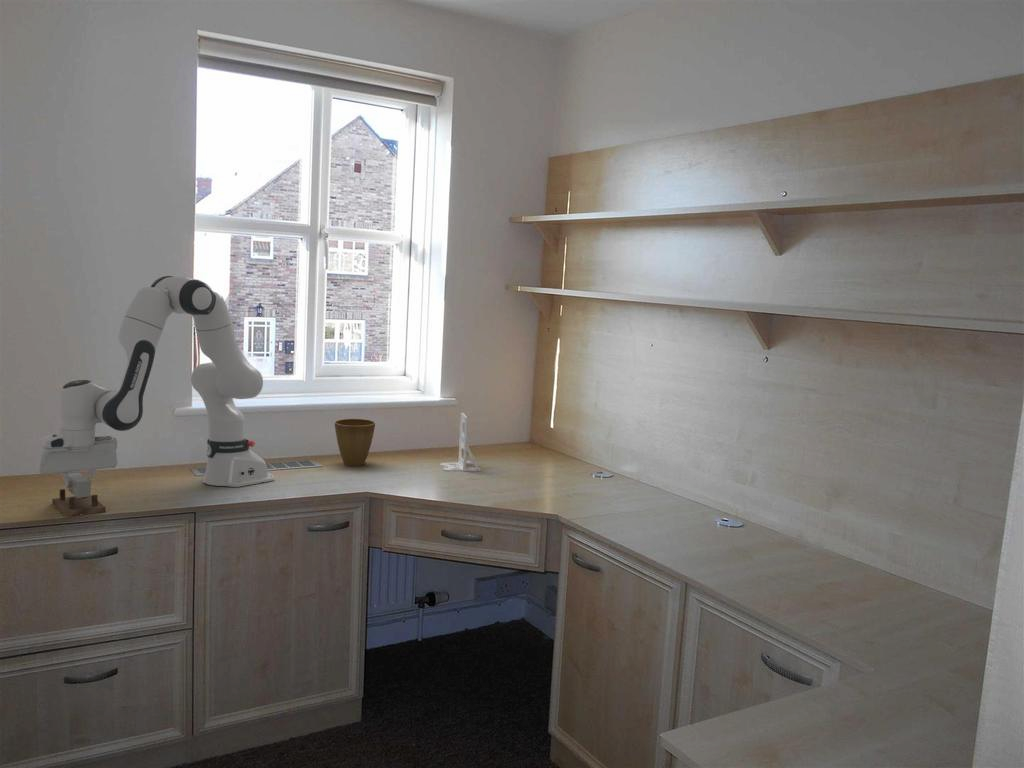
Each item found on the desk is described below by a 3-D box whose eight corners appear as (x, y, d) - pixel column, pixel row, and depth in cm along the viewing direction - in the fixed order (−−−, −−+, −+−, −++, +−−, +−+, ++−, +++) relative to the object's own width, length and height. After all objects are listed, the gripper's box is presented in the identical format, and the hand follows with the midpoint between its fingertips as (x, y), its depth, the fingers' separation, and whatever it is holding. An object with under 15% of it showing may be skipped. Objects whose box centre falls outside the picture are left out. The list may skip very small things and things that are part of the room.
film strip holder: (439, 463, 321) (441, 411, 319) (475, 463, 324) (477, 412, 322) (443, 471, 307) (445, 417, 305) (481, 471, 310) (483, 418, 308)
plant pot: (328, 461, 315) (329, 419, 313) (366, 459, 322) (367, 418, 320) (340, 469, 302) (341, 425, 300) (379, 467, 309) (380, 424, 307)
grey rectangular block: (79, 487, 243) (79, 472, 243) (90, 496, 234) (90, 480, 234) (66, 488, 241) (66, 473, 240) (77, 497, 232) (77, 482, 231)
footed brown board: (90, 499, 247) (90, 484, 247) (105, 512, 235) (105, 496, 235) (52, 503, 241) (52, 488, 240) (65, 517, 229) (65, 500, 228)
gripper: (114, 433, 245) (114, 479, 246) (34, 439, 232) (35, 488, 233) (120, 437, 240) (120, 484, 242) (39, 442, 227) (40, 492, 228)
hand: (78, 486), depth 237 cm, fingers closed on grey rectangular block, 3 cm apart
